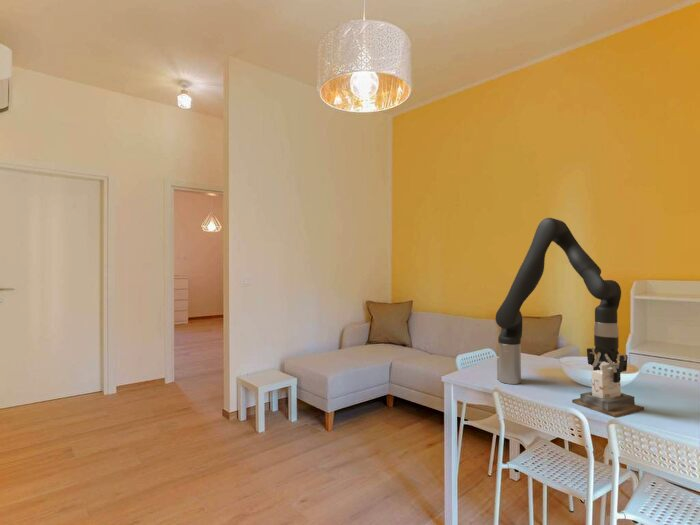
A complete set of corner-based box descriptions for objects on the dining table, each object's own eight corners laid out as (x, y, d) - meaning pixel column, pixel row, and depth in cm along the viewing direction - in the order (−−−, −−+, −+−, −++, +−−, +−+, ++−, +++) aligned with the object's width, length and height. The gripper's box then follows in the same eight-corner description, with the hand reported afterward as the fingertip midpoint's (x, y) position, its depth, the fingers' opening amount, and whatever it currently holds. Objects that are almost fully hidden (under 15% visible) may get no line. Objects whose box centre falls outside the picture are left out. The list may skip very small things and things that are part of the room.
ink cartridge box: (608, 399, 149) (608, 360, 150) (621, 403, 145) (620, 363, 145) (591, 402, 147) (590, 362, 147) (603, 406, 142) (602, 365, 142)
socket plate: (572, 402, 150) (572, 391, 150) (600, 396, 156) (600, 386, 156) (614, 417, 135) (614, 405, 135) (644, 410, 141) (644, 398, 141)
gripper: (580, 332, 151) (581, 376, 151) (619, 338, 138) (619, 386, 137) (594, 330, 154) (594, 373, 154) (633, 336, 140) (633, 383, 140)
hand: (606, 379), depth 146 cm, fingers open, 6 cm apart
